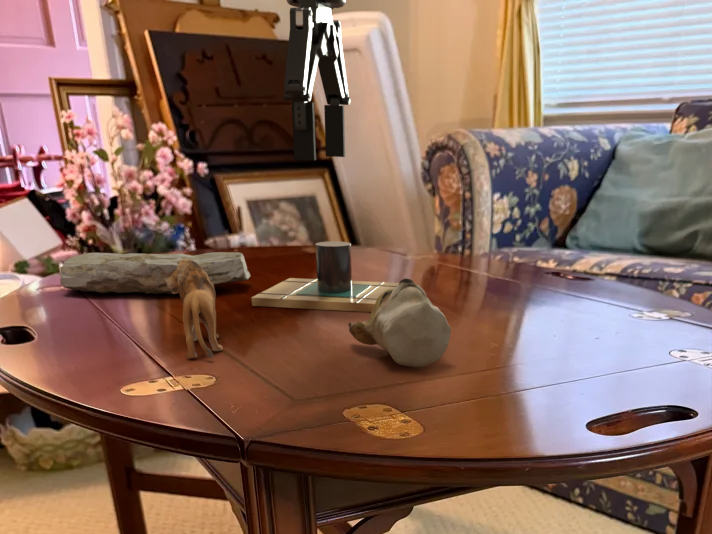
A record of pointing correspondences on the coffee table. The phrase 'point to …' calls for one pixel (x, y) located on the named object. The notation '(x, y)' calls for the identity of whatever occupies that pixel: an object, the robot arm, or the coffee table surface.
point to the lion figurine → (195, 304)
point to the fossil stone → (144, 271)
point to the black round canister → (334, 266)
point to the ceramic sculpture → (405, 326)
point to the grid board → (321, 296)
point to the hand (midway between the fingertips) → (321, 158)
